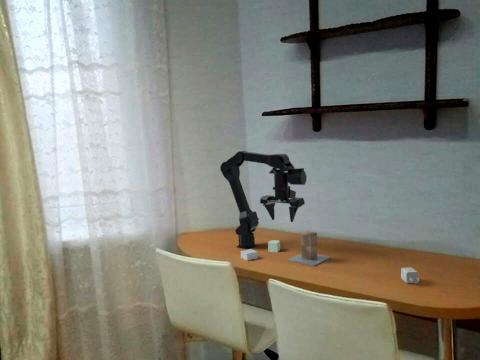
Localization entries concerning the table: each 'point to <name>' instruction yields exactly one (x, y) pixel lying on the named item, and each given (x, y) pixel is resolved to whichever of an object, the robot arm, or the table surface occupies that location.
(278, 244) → the pale green cube
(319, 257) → the slate coaster
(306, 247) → the walnut pillar
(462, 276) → the table surface
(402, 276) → the usb wall charger
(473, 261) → the table surface
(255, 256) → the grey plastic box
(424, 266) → the table surface
